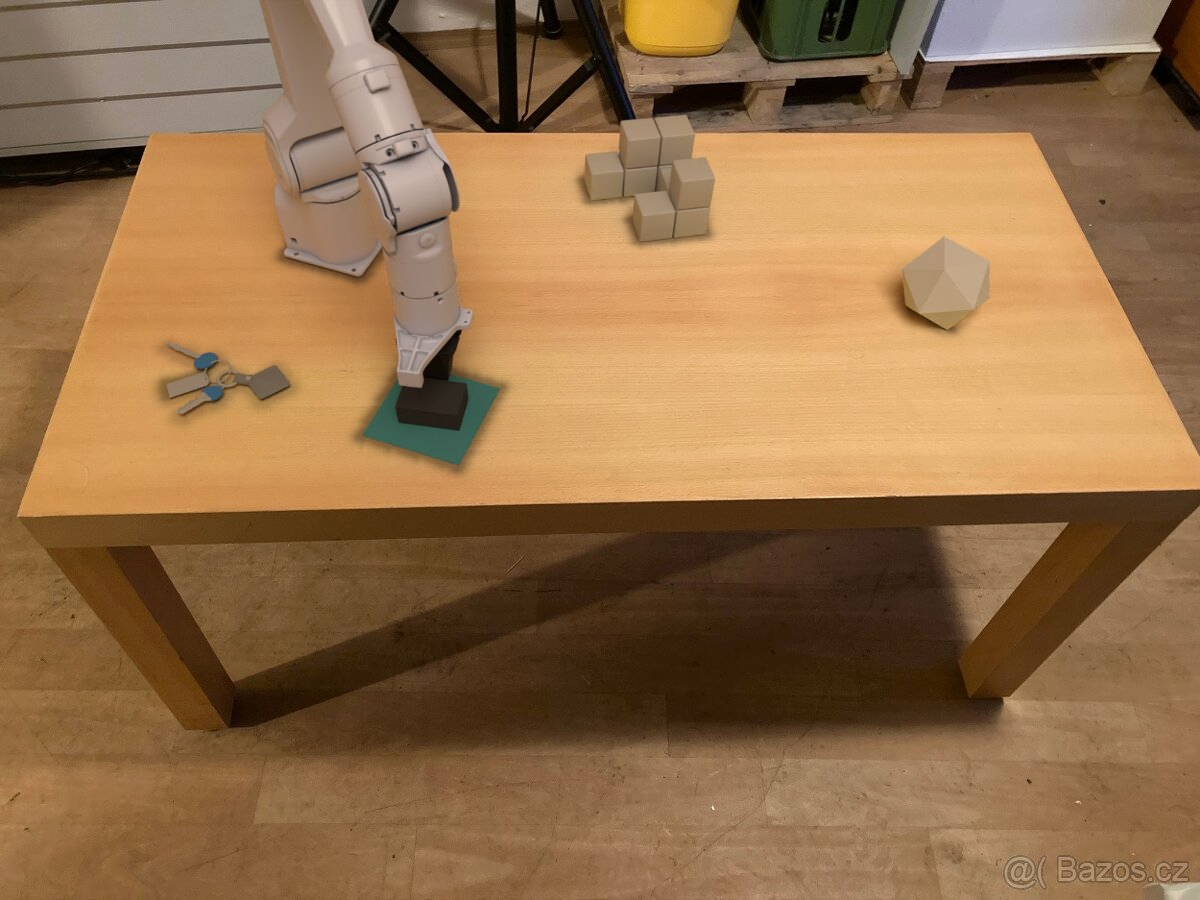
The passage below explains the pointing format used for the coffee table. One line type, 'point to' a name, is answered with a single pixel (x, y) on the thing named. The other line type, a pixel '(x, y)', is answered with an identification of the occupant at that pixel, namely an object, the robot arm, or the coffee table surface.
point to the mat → (432, 439)
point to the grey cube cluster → (655, 177)
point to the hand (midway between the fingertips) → (438, 379)
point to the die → (946, 282)
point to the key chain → (259, 382)
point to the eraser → (433, 404)
